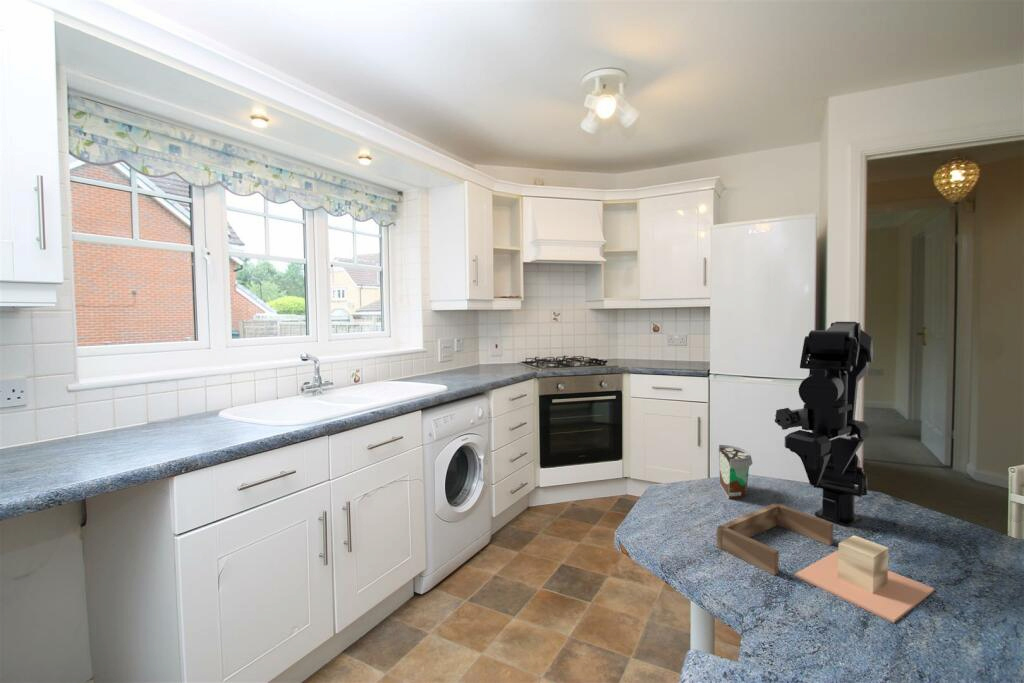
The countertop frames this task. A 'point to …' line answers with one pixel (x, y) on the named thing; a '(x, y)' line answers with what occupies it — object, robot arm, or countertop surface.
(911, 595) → the mat
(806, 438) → the robot arm
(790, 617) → the countertop surface
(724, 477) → the food container
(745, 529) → the open side box
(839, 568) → the maple block
